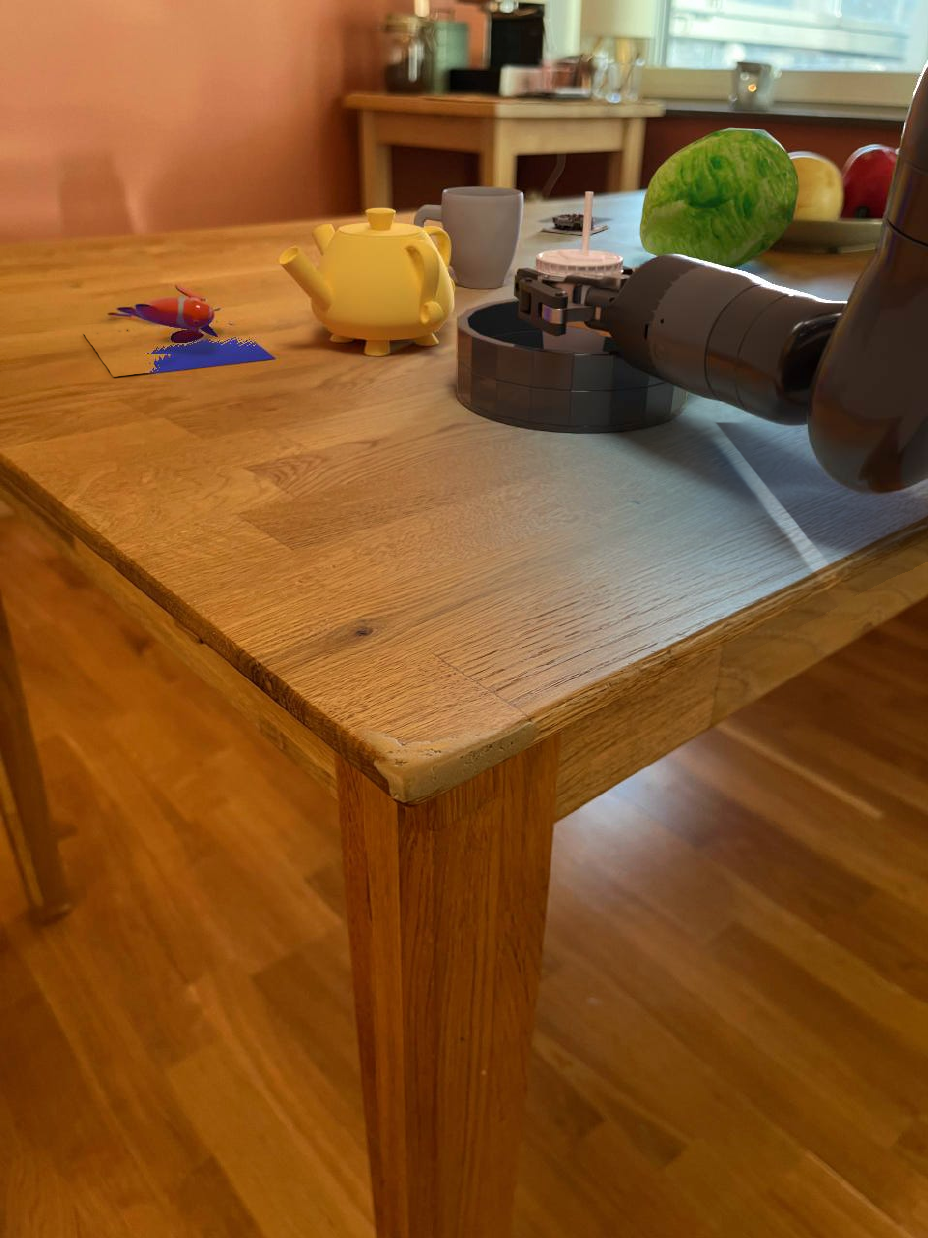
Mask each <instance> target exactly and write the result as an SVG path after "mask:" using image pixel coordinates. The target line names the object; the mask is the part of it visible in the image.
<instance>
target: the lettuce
mask: <svg viewBox="0 0 928 1238" xmlns="http://www.w3.org/2000/svg"><path fill="white" fill-rule="evenodd" d="M799 190H800V185H799V176H798V173H797V170H796V166H795V164H794V163H793V161H792V158H791V157H790V156H789V154H788V152H787V151H786V150H785V148H784V147H783V145H782V144H781V143H780V142H779V141H778V140H777V139H776V138H775V137H773V135H771V134H770V133H769V132H768V131H766V130H765V129H758V128H757V129H755V128H739V127H738V128H735V127H728V128H724V129H720V130H717V131H713V132H711V133H709V134H707V135H705V136H703V137H701V138H699V139H698V140H696V141H694V142H692V143H690V144H688V145H686V146H684V147H682V148H681V149H680V150H678V151H677V152H675V153H674V154H672V155H670V157H669V158H668V159H667V160H666V161H664V163H663V164H662V165H661V166H660V167H658V169H657V171H655V173H654V174H653V176H652V177H651V179H650V181H649V182H648V186H647V189H646V190H645V191H646V192H645V194H644V198H643V203H642V208H641V217H640V223H639V234H638V236H639V238H640V243H641V246H642V248H643V249H644V251H645V252H646V253H649V254H650V255H653V256H655V257H657V256H660V255H665V254H678V255H683V256H686V257H690V258H694V259H697V260H701V261H705V262H709V263H712V264H716V265H720V266H723V267H727V268H731V269H735V268H739V267H741V266H743V265H746V264H747V263H749V262H750V261H752V260H754V259H756V258H758V257H759V256H760V255H762V254H763V253H765V252H767V251H769V250H770V248H771V247H772V246H773V245H774V244H775V243H777V241H778V240H780V239H781V237H782V236H783V234H784V233H785V232H786V230H787V229H788V228H789V226H790V225H791V223H792V222H793V219H794V217H795V212H796V208H797V203H798V198H799V197H798V196H799Z"/></svg>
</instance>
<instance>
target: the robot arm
mask: <svg viewBox="0 0 928 1238" xmlns="http://www.w3.org/2000/svg"><path fill="white" fill-rule="evenodd" d="M920 75H921V76H920V77H919V79H918V82H917V85H916V88H915V90H914V92H913V96H912V99H911V101H910V105H909V108H908V112H907V114H906V118H905V122H904V126H903V130H902V134H901V138H900V142H899V148H898V152H897V157H896V160H895V165H894V170H893V173H892V178H891V182H890V186H889V190H888V195H887V199H886V203H885V208H884V212H883V216H882V220H881V221H882V222H881V227H880V234H879V237H878V241H877V243H876V245H875V247H874V250H873V251H872V253H871V255H870V257H869V258H868V261H867V262H866V264H865V266H864V267H863V270H862V271H861V272H860V274H859V276H858V278H857V280H856V282H855V284H854V285H853V288H852V289H851V291H850V293H849V296H848V297H847V300H846V301H833V300H826V299H823V298H820V297H817V296H814V295H812V294H809V293H805V292H801V291H798V290H795V289H791V288H788V287H784V286H779V285H776V284H772V283H770V282H768V281H766V280H765V279H763V278H760V277H759V276H756V275H754V274H752V273H748V272H746V271H742V270H738V269H735V268H727V267H723V266H720V265H716V264H712V263H709V262H705V261H701V260H697V259H694V258H690V257H686V256H683V255H678V254H665V255H660V256H655V257H652V258H649V259H648V260H646V261H645V262H644V263H642V264H641V265H637V266H636V267H630V266H626V265H623V268H622V270H623V272H622V274H611V275H608V276H602V275H595V274H588V273H580V272H577V273H574V274H571V275H568V276H566V277H565V278H562V277H555V276H550V275H549V274H544V273H541V272H538V271H536V270H535V269H533V268H529V267H521V268H517V270H516V273H515V274H514V276H513V277H514V279H513V281H514V282H513V297H515V298H517V299H518V300H520V303H519V313H518V317H519V318H521V319H523V320H525V321H526V322H528V323H530V324H532V325H534V326H535V327H537V328H539V329H541V330H543V331H544V332H546V333H548V334H550V335H553V336H560V335H565V334H566V326H569V327H575V328H580V329H586V330H592V331H596V332H597V333H598V334H599V335H601V336H605V337H610V338H612V339H613V341H614V343H615V345H616V347H617V349H618V351H619V353H620V355H621V356H622V358H623V359H624V360H625V361H626V362H627V363H628V364H629V365H630V366H632V367H633V368H635V369H637V370H639V371H642V372H644V373H646V374H649V375H651V376H653V377H656V378H658V379H660V380H662V381H665V382H667V383H669V384H672V385H674V386H677V387H679V388H681V389H683V390H686V391H688V393H690V394H692V395H694V396H698V397H700V398H704V399H707V400H711V401H716V402H721V403H724V404H726V405H729V406H731V407H734V408H736V409H738V410H741V411H743V412H745V413H748V414H750V415H752V416H755V417H757V418H760V419H761V420H764V421H767V422H769V423H772V424H777V425H780V426H788V427H801V426H806V427H807V428H806V429H807V434H808V440H809V443H810V446H811V447H810V448H811V449H812V452H813V455H814V457H815V459H816V461H817V463H818V464H819V466H820V467H821V469H822V470H823V471H824V473H825V474H826V475H827V476H828V477H829V478H830V479H831V480H832V481H833V482H834V483H836V484H837V485H839V486H840V487H842V488H843V489H846V490H848V491H850V492H854V493H856V494H861V495H865V496H866V495H868V496H881V495H887V494H893V493H896V492H900V491H903V490H906V489H909V488H911V487H913V486H915V485H918V484H919V483H922V482H924V481H926V480H928V61H927V62H926V64H925V65H924V68H923V71H922V73H921V74H920ZM583 285H589V286H590V287H589V288H588V290H587V292H586V296H585V300H584V304H581V295H582V286H583ZM555 287H556V288H561V289H562V290H563V291H559V290H556V289H555Z"/></svg>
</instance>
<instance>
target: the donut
mask: <svg viewBox="0 0 928 1238" xmlns="http://www.w3.org/2000/svg"><path fill="white" fill-rule="evenodd" d="M583 220H584V214H581V213H578V214H577V213H572V214H571V213H568V214H567V213H565V214H560V215H557V216H552V217H551V221H552V223H553V225H552V226H547V227H543V228H542V229H541V230H540V231H541V232H549V233H550V232H551V233H559V234H566V235H567V234H569V235H578V236H582V234H583ZM595 223H596V220H595V218H594V217H593V216H592V218H591V232H590V236H591V235H593V234H594V233H595V234H596V233H599V232H601V231H603V230H606V229H609V228H610V226H608V224H605V225H595Z"/></svg>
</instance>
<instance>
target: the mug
mask: <svg viewBox="0 0 928 1238" xmlns="http://www.w3.org/2000/svg"><path fill="white" fill-rule="evenodd" d="M523 211H524V194H523V191H522V190H519V189H516V188H511V187H502V186H501V187H500V186H480V185H479V186H478V185H477V186H456V187H449V188H446V189H443V191H442V193H441V204H439V205H438V204H437V205H436V204H424V205H422V206H421V207H420V208H419V209H417V211H416V213H415V215H414V218H413V225H416V226H419V227H422V228H423V227H426V225H425V223H426V221H433V222H438V223H439V222H440V223H441V225H442V230H444V231H445V232H446V233H447V234H448V236H449V238H450V241H451V256H450V262H449V267H451V268H452V270H453V272H454V276H455V278H456V283H457V285H458V286H460V287H464V288H469V289H477V290H479V289H481V290H482V289H483V290H487V289H496V288H501V287H503V286H504V285H505V283H506V279H507V277H508V273H509V272H510V269H511V268H512V265H513V263H514V260H515V257H516V254H517V250H518V247H519V242H520V237H521V231H522V222H523V215H524V214H523V213H524V212H523Z"/></svg>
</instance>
